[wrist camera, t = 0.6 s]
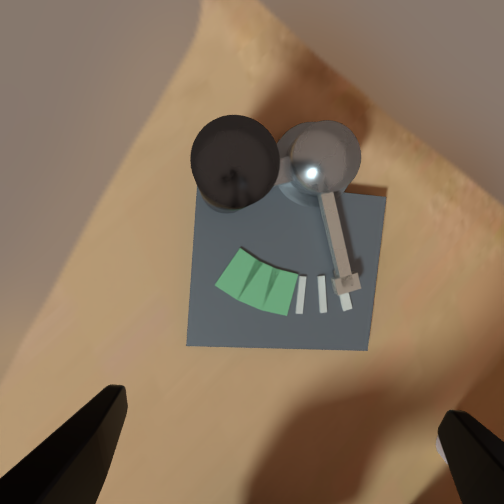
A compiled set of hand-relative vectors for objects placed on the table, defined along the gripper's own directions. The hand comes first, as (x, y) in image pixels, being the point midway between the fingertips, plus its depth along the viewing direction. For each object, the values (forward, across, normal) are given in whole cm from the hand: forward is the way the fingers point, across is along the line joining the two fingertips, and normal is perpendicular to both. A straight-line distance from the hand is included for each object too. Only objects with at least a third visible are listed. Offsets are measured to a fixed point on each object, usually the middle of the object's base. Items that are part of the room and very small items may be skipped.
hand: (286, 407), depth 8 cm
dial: (+14, -1, 0) cm, 14 cm away
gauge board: (+15, -2, +1) cm, 15 cm away
